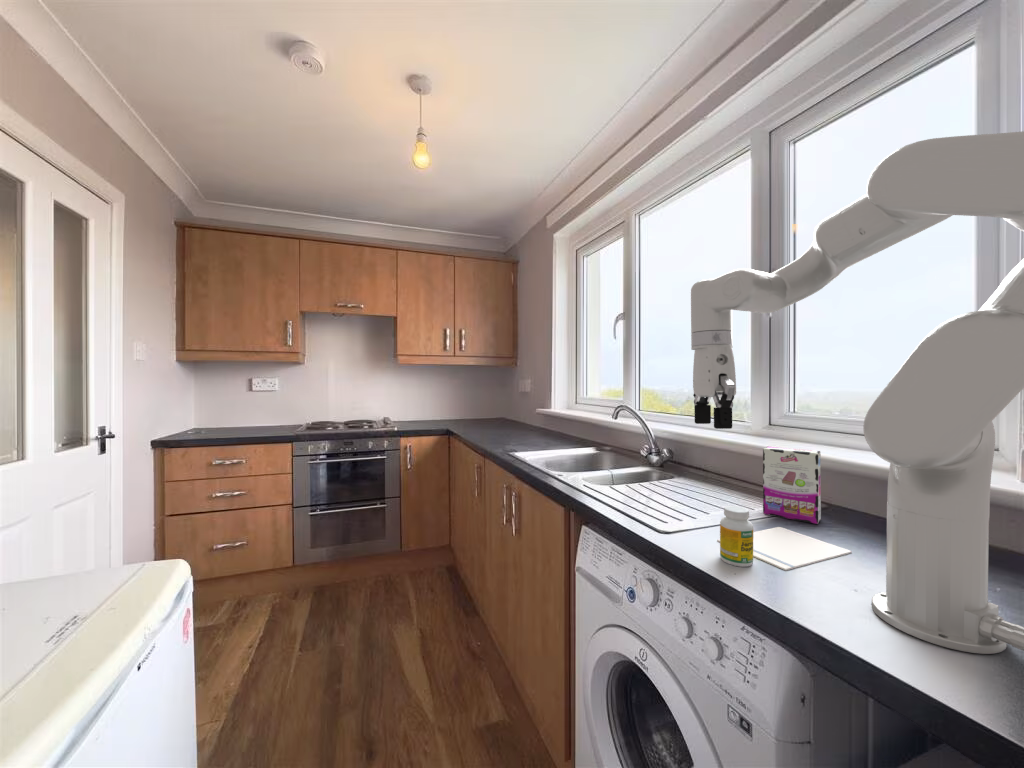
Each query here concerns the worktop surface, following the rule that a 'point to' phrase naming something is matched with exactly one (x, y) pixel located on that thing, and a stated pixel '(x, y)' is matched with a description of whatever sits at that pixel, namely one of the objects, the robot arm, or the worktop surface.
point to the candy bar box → (792, 484)
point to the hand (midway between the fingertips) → (712, 425)
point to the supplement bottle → (736, 537)
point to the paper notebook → (791, 548)
